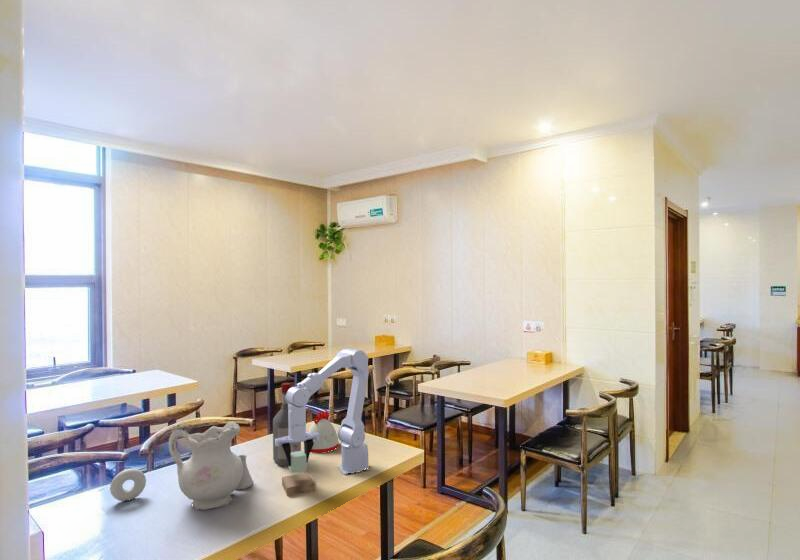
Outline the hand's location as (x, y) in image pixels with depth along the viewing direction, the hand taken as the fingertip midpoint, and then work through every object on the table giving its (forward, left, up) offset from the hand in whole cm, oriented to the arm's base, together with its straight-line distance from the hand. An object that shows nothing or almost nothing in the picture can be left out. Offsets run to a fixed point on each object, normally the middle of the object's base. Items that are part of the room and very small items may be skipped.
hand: (297, 463), depth 154 cm
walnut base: (0, 0, -8) cm, 8 cm away
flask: (+17, -10, -8) cm, 21 cm away
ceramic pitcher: (+28, -3, -8) cm, 29 cm away
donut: (+51, -15, -8) cm, 54 cm away
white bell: (-17, -33, -8) cm, 38 cm away
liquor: (-1, -24, -8) cm, 25 cm away
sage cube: (0, 0, -2) cm, 2 cm away
